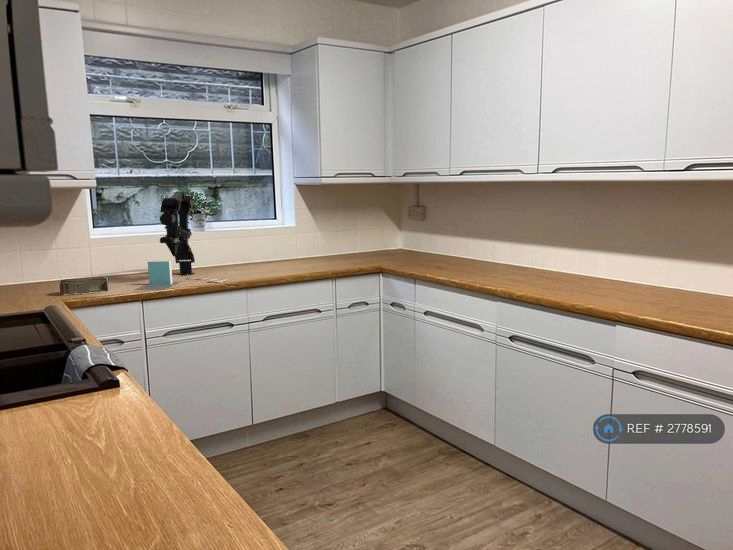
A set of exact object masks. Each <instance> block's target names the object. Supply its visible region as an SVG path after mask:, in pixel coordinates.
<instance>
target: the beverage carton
mask: <svg viewBox="0 0 733 550" xmlns="http://www.w3.org/2000/svg"><path fill="white" fill-rule="evenodd" d="M108 281H109V278H108V276H98V277H85V278H84V277H83V278H66V279H61V280H60V282H59V293H60V296H61V295H64V294H73V293H89V292H100V293H102V292H101V291H103V292H109V282H108Z"/></svg>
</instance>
